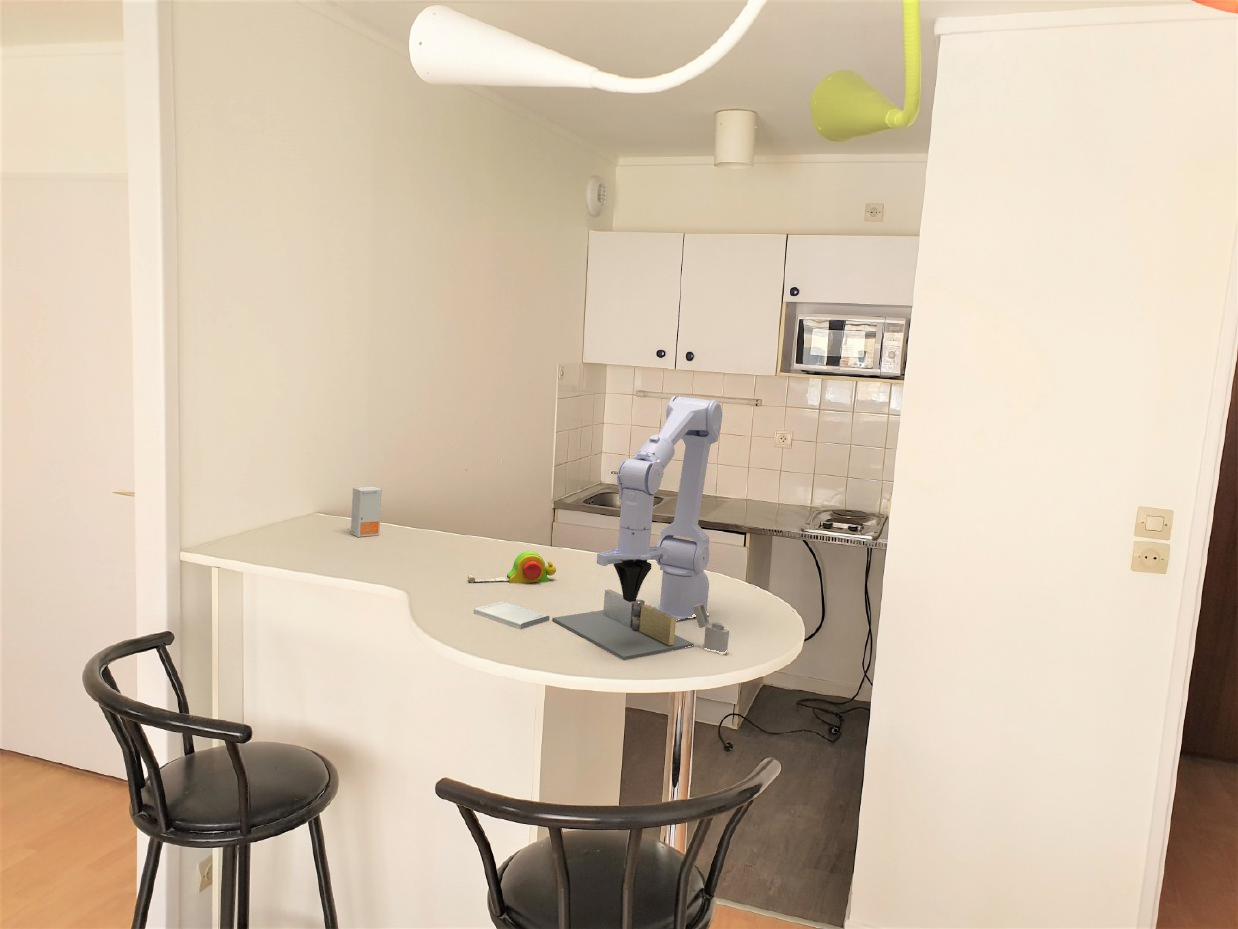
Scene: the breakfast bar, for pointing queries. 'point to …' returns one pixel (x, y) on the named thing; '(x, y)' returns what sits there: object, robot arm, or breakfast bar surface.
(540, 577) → the toy measuring tape
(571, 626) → the hinge base
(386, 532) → the breakfast bar surface
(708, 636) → the lighter
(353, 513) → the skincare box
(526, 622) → the hard drive
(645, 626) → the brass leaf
